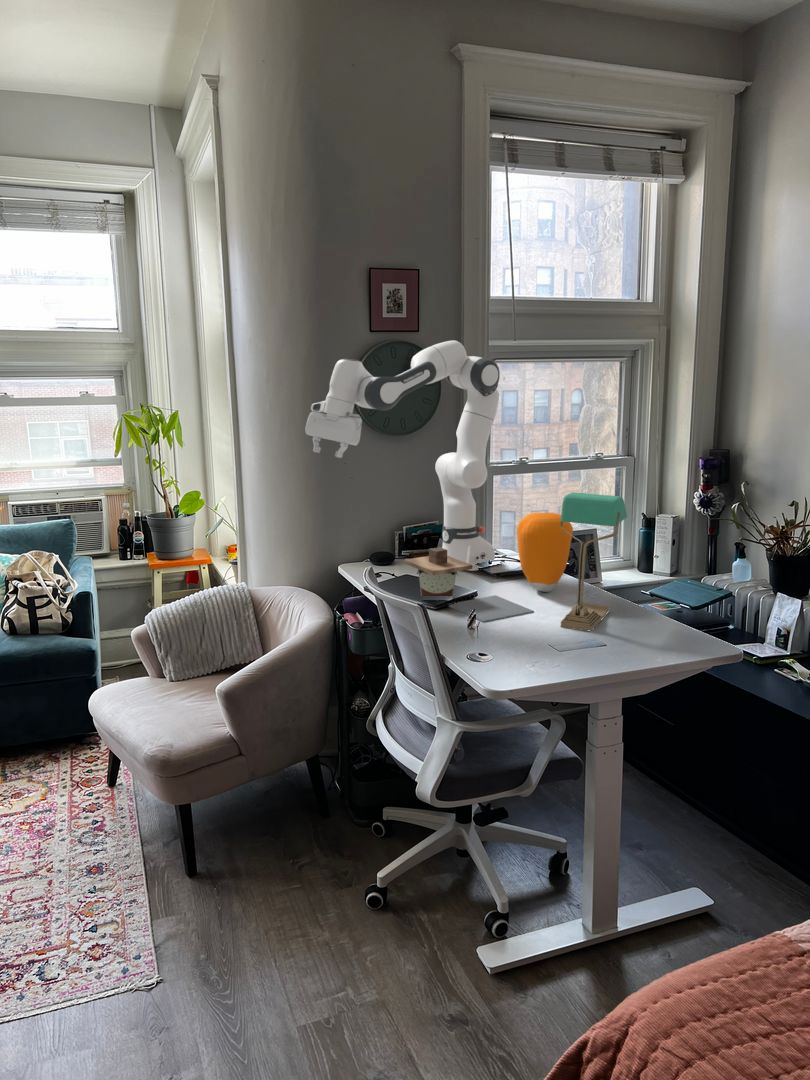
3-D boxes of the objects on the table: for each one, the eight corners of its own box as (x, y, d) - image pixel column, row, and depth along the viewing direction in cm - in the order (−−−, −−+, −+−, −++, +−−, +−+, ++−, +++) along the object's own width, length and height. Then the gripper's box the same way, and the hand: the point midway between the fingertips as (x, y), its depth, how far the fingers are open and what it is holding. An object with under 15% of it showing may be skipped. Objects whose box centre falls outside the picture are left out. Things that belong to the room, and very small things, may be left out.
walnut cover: (442, 557, 256) (442, 541, 255) (472, 568, 242) (472, 551, 241) (404, 563, 249) (404, 546, 247) (432, 575, 235) (433, 557, 234)
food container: (458, 595, 250) (458, 564, 248) (457, 601, 244) (458, 569, 242) (418, 594, 251) (418, 562, 249) (416, 600, 245) (416, 568, 243)
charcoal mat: (495, 596, 249) (495, 595, 249) (533, 612, 234) (533, 610, 234) (446, 605, 240) (446, 604, 240) (483, 622, 225) (483, 621, 225)
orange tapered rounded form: (505, 586, 260) (507, 509, 254) (551, 581, 266) (555, 506, 260) (532, 601, 244) (535, 520, 238) (580, 596, 250) (585, 516, 244)
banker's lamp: (547, 624, 223) (553, 499, 215) (569, 604, 241) (575, 487, 233) (604, 633, 216) (612, 504, 208) (623, 612, 234) (631, 492, 226)
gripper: (369, 417, 245) (358, 462, 246) (321, 408, 257) (310, 451, 258) (356, 412, 240) (345, 458, 241) (307, 403, 252) (297, 447, 253)
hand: (327, 454), depth 249 cm, fingers open, 8 cm apart
